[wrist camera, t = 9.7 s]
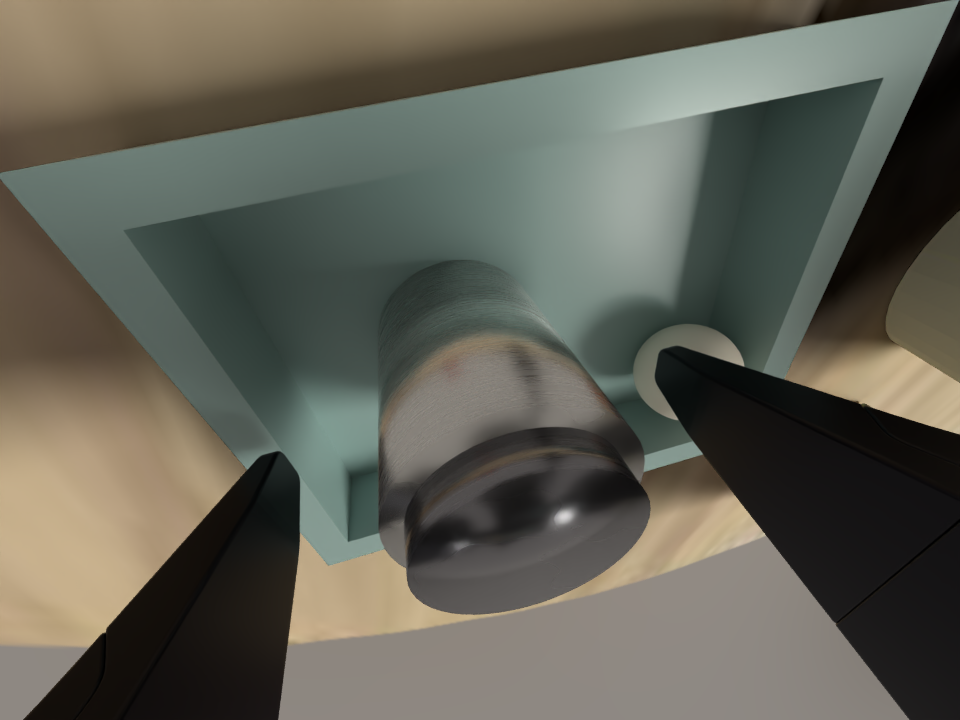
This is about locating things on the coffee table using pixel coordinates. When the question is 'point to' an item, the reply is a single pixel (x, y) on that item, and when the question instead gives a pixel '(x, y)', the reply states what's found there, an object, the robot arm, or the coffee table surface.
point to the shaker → (496, 448)
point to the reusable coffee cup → (931, 303)
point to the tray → (490, 230)
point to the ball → (686, 337)
